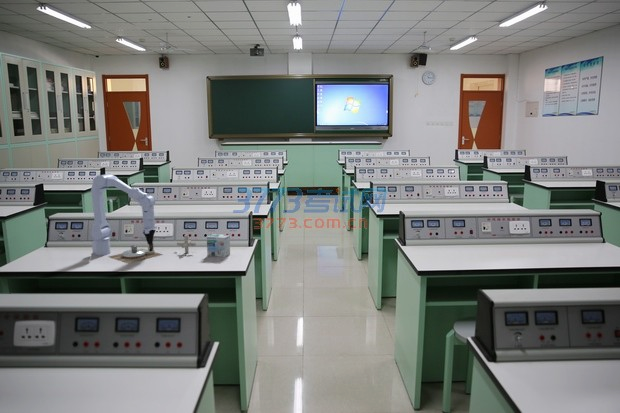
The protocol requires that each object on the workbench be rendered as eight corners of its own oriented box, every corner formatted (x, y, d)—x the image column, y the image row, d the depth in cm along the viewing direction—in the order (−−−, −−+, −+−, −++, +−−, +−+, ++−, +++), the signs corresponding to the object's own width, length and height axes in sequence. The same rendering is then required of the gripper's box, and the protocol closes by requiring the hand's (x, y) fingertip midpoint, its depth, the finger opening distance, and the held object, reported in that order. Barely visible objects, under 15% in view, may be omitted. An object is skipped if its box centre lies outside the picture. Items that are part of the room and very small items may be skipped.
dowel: (147, 252, 239) (147, 246, 238) (150, 252, 240) (149, 246, 240) (149, 253, 238) (148, 247, 237) (151, 252, 239) (151, 246, 239)
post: (130, 251, 234) (130, 246, 233) (135, 250, 236) (134, 245, 235) (133, 252, 232) (133, 246, 231) (138, 251, 234) (137, 245, 233)
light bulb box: (207, 256, 237) (206, 236, 235) (212, 252, 243) (211, 233, 242) (225, 257, 234) (224, 237, 233) (230, 253, 241) (230, 234, 239)
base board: (107, 258, 232) (107, 256, 232) (142, 250, 248) (141, 248, 247) (128, 265, 220) (128, 263, 220) (163, 256, 236) (163, 254, 235)
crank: (122, 259, 226) (121, 248, 225) (122, 253, 237) (121, 243, 236) (155, 255, 232) (154, 245, 231) (154, 250, 243) (153, 240, 242)
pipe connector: (198, 250, 247) (198, 233, 245) (192, 255, 237) (191, 237, 236) (181, 250, 248) (180, 232, 246) (174, 255, 238) (173, 237, 237)
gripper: (154, 221, 225) (155, 247, 227) (158, 215, 239) (160, 240, 241) (139, 221, 224) (141, 247, 226) (145, 216, 238) (146, 240, 240)
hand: (150, 244), depth 234 cm, fingers closed
